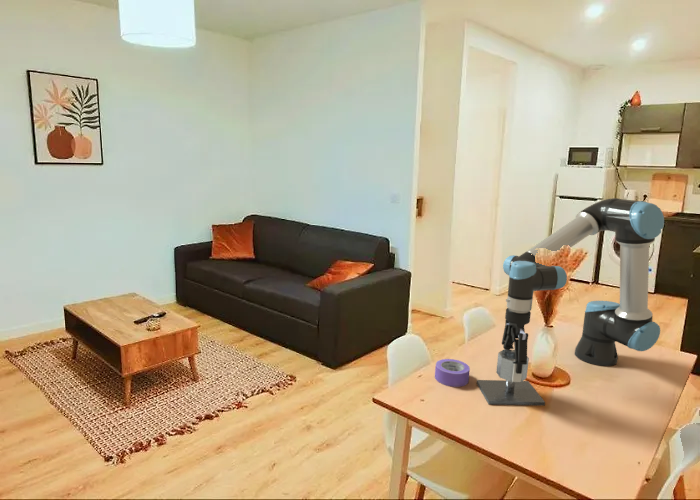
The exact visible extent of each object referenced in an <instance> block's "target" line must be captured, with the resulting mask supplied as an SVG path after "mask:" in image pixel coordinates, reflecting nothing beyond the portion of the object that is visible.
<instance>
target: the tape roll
mask: <svg viewBox="0 0 700 500" xmlns="http://www.w3.org/2000/svg"><path fill="white" fill-rule="evenodd" d="M470 371H471V369H470V366H469V365H468V363H465V362H464V361H461V360H458V359H453V358H452V359H451V358H444V359H443V358H442V359H439V360H437V361H436V363H435V369H434V379H435V381H437V382H438V383H440V384H441V385H444V386H447V387H452V388H455V387H456V388H457V387H459V388H460V387H464V386H466V385H467V384H469V381H470V380H469V379H470V373H471V372H470Z"/></svg>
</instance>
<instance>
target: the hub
mask: <svg viewBox="0 0 700 500" xmlns="http://www.w3.org/2000/svg"><path fill="white" fill-rule="evenodd" d="M529 361H530V358H529V356H527V364H526V365H523V369H522V377H521V382H522V381H526V379H527V378H528V370H529V368H528V367H529ZM513 362H515V349H510V350H504V349H502V350H500V351H499V352H498V353H497V362H496V370H495V373H496V374H497V376H498V377H499V378H500V379H503V380H504V381H506V380H508V381H512V374H513V365H514V364H513Z"/></svg>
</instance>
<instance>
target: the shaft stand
mask: <svg viewBox="0 0 700 500" xmlns="http://www.w3.org/2000/svg"><path fill="white" fill-rule="evenodd" d="M476 385H477V387H478V388H479V390H480V392H481V394H482V395H483V397H484V400H486V402H487V404H488V405H491V406H492V405H494V406H495V405H496V406H499V405H500V406H539V407H540V406H542V407H543V406H545V405H546V402H545V400H544V399H543V397H541V395H540V394H539V392H538V391H537V390H536V389H535V388H534V386H533V385H532V384H531V383H530V381H529V380H523V381H522V382H512V381H508V380H505V379H503V380H499V379H497V380H496V379H494V380H493V379H476Z"/></svg>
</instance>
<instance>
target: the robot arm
mask: <svg viewBox="0 0 700 500" xmlns="http://www.w3.org/2000/svg"><path fill="white" fill-rule="evenodd" d="M664 227H665V216H664V213H663V211H662V210H661V208H660V207H658V206H657V205H656V204H654V203H652V202H647V201H643V200H632V199H624V198H623V199H622V198H615V197H613V198H606V199H603V200H601V201H598V202H595V203H593V204H591V205H589V206H587V207H585V208H584V209H582V210H581V211H579V212H577V214H575V218H574V219H573V220H570V221H569V222H567V223H566V224H565V225H564V226H562V227H561V228H559V229H558V230H555V232H553V233H551V234H550V235H549V236H547V237H545V238H544V239H543V240H541V241H539V242H538V243H537V244H535V245H534V246H532V247H531V248H529V249H528V250H526V251H525V252H524V253H522V254H520V255H509V256H507V257H506V258H505V260H504V261H503V263H502V264H503V265H502V269H503V272H504V273H505V275H507V276H508V277H509V278H508V289H507V299H505V302H506V308H505V316H504V319H505V320H504V321H505V322H504V323H505V326H504V330H503V334H502V339H501V345H502V347H503V350H515V362H513V364H514V365H513V374H512V382H521V377H522V369H523V365H526V364H527V357H528V339H529V333H526V331H525V330H526V329H525V326H526V325H528V324H530V322H531V314H532V312H531V311H532V307H533V300H534V299H533V298H534V297H533V296H534V292H538V291H554V290H559V289H563V288H564V287H565V286H566V284H567V281H568V280H567V279H568V276H567V273H566V270H565V269H564V268H563V267H562V266H560V265H559V266H558V265H557V266H556V265H549V266H548V265H542V264H539V263H536V262H535V255H536V253H538V252H537V251H538V250H535V249H536V248H546V249H548V250H551V251H557V250H560V248H561V247H562V246H563V245H569V246H570V247H571V248H573V247H574V246H575V245H577V244H578V243H579V242H581V241H583V240H584V239H586V238H587V237H588V236H595V235H597V234H598V233H600V232H604V231H606V232H607V231H609V232H613V233H614V236H615V237H614V238H615V239H614V240H615V242H616V243H617V244H618V245H619V247H620V248H619V302H616V301H609V300H592V301H589V302H588V303H587V304H586V306H585V310H584V316H583V325H582V326H583V327H582V333H581V334H582V335H581V337H580V338H579V340H578V343H577V345H576V346H575V348H574V356H575V357H577V359H579V360H581V361H583V362H585V363H588V364H592V365H595V366H601V367H602V366H603V367H604V366H605V367H611V366H614V365H617V363H618V359H619V356H618V355H619V354H618V350H617V346H616V343H618V344H621V345H622V346H625V347H627V348H628V349H631V350H634V351H637V352H645V351H646V352H647V351H648V350H650V349H651V348H652V347H653V346H655V344H656V343H657V341H658V339H659V338H660V335H661V327H660V325H659V324H658V323H657V322H655V321H653V311H651V310H650V309H649V307H648V305H649V303H648V302H649V295H648V294H649V270H650V268H649V267H650V264H649V263H650V261H649V260H650V245H652V244H653V243H654V242H655V239H656V238H657V237H658V236H660V234H662V230H663V229H664ZM531 254H532V255H531ZM513 345H514V346H513Z"/></svg>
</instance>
